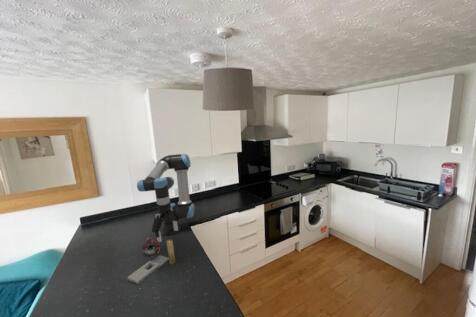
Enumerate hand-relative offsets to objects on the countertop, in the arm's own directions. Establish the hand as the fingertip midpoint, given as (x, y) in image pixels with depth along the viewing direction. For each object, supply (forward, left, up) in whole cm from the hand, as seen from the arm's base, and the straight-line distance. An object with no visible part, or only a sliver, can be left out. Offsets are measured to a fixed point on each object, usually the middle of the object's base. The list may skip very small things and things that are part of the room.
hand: (168, 235), depth 124 cm
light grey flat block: (+14, -9, -19) cm, 25 cm away
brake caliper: (-4, -23, -19) cm, 30 cm away
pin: (0, 0, -19) cm, 19 cm away
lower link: (+5, -9, -19) cm, 21 cm away
